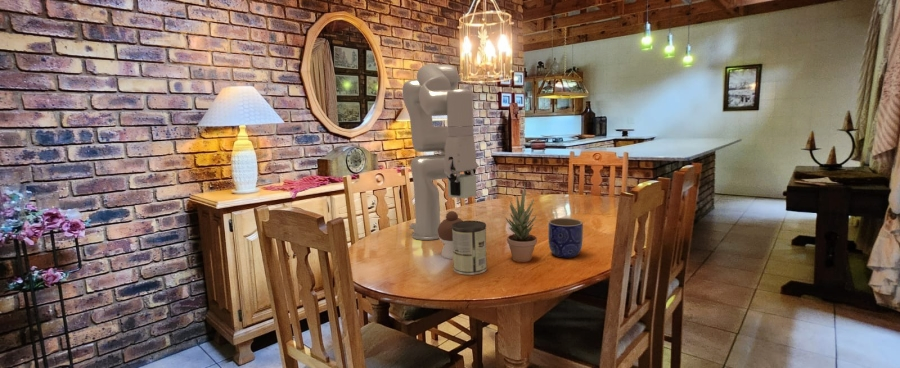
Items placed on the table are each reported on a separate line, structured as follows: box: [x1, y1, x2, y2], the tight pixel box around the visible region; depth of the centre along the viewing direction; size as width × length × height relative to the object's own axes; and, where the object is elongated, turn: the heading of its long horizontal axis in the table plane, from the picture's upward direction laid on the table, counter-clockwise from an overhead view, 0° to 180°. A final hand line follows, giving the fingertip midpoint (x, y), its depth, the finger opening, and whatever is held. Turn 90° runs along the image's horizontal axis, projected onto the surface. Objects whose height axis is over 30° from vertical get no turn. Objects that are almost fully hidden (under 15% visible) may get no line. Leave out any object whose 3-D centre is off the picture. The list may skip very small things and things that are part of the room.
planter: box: [547, 217, 584, 259], centre depth 149 cm, size 11×11×11 cm
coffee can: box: [452, 220, 488, 276], centre depth 137 cm, size 10×10×14 cm
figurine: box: [438, 210, 463, 260], centre depth 152 cm, size 10×9×15 cm
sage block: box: [447, 173, 477, 199], centre depth 134 cm, size 6×6×6 cm
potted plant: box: [505, 183, 538, 263], centre depth 145 cm, size 10×10×25 cm
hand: (462, 193), depth 135 cm, fingers closed on sage block, 6 cm apart
